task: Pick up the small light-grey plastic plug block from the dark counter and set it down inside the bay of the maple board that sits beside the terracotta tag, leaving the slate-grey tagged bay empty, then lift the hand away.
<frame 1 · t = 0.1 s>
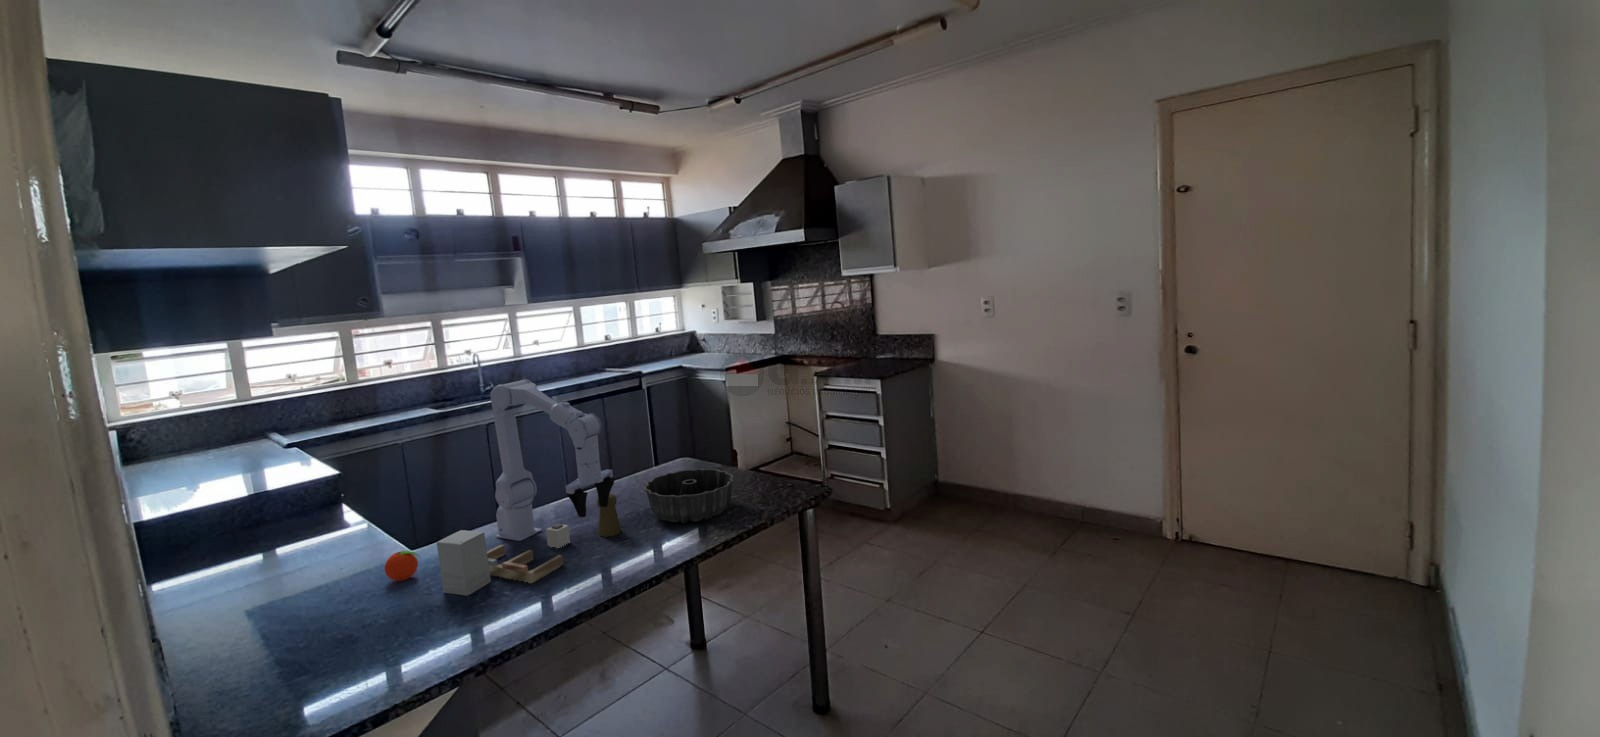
hand: (593, 511, 169), 10 cm above the table, tool pointing down, fingers open, 7 cm apart
socket board: (517, 566, 161), on the table
bundt pan: (691, 513, 193), on the table
supplement box: (467, 588, 152), on the table
cork: (609, 533, 181), on the table
plug: (559, 544, 174), on the table
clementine: (406, 579, 158), on the table
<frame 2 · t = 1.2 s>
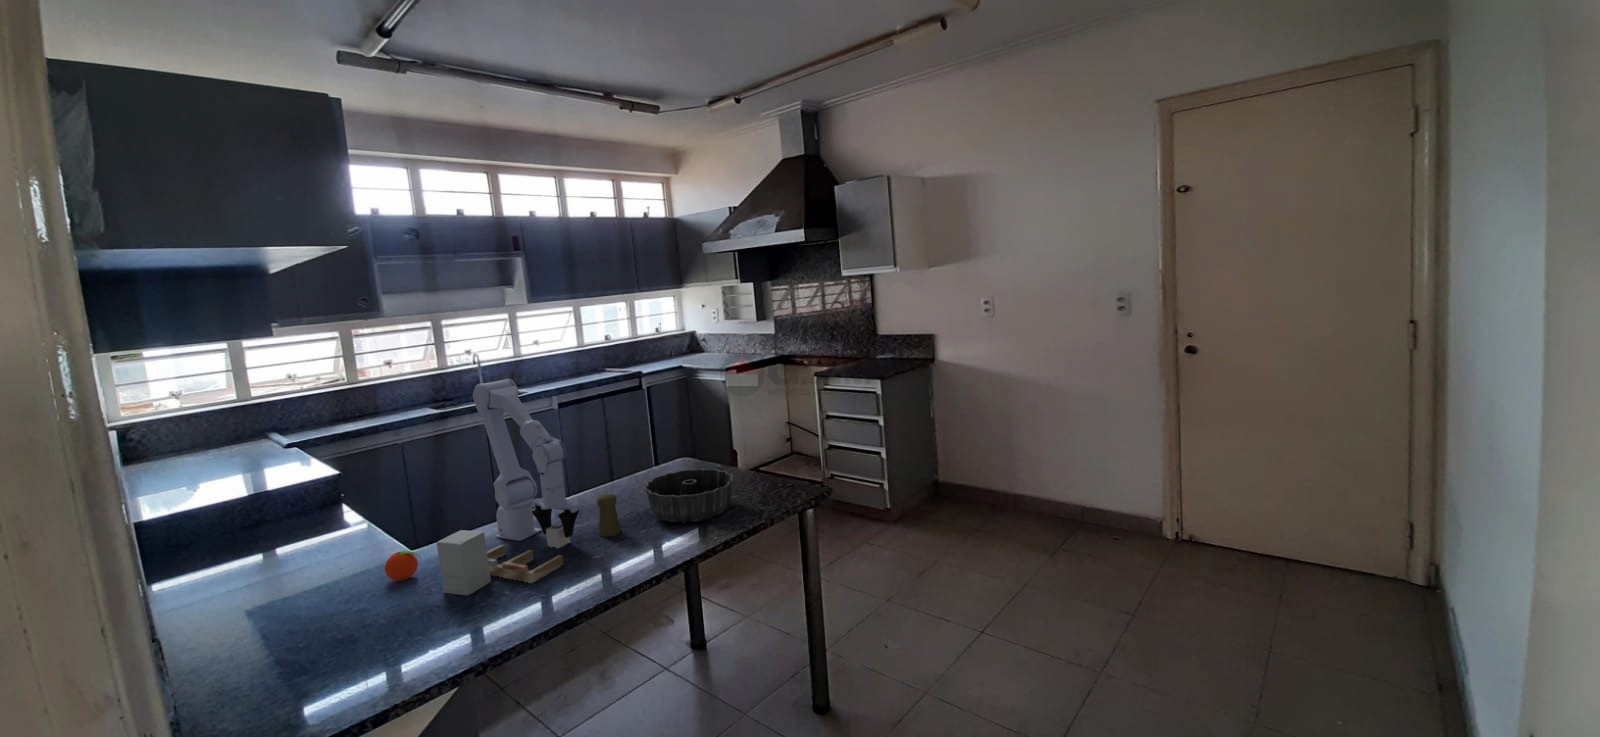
hand: (558, 534, 173), 3 cm above the table, tool pointing down, fingers open, 7 cm apart
nothing on the table moved.
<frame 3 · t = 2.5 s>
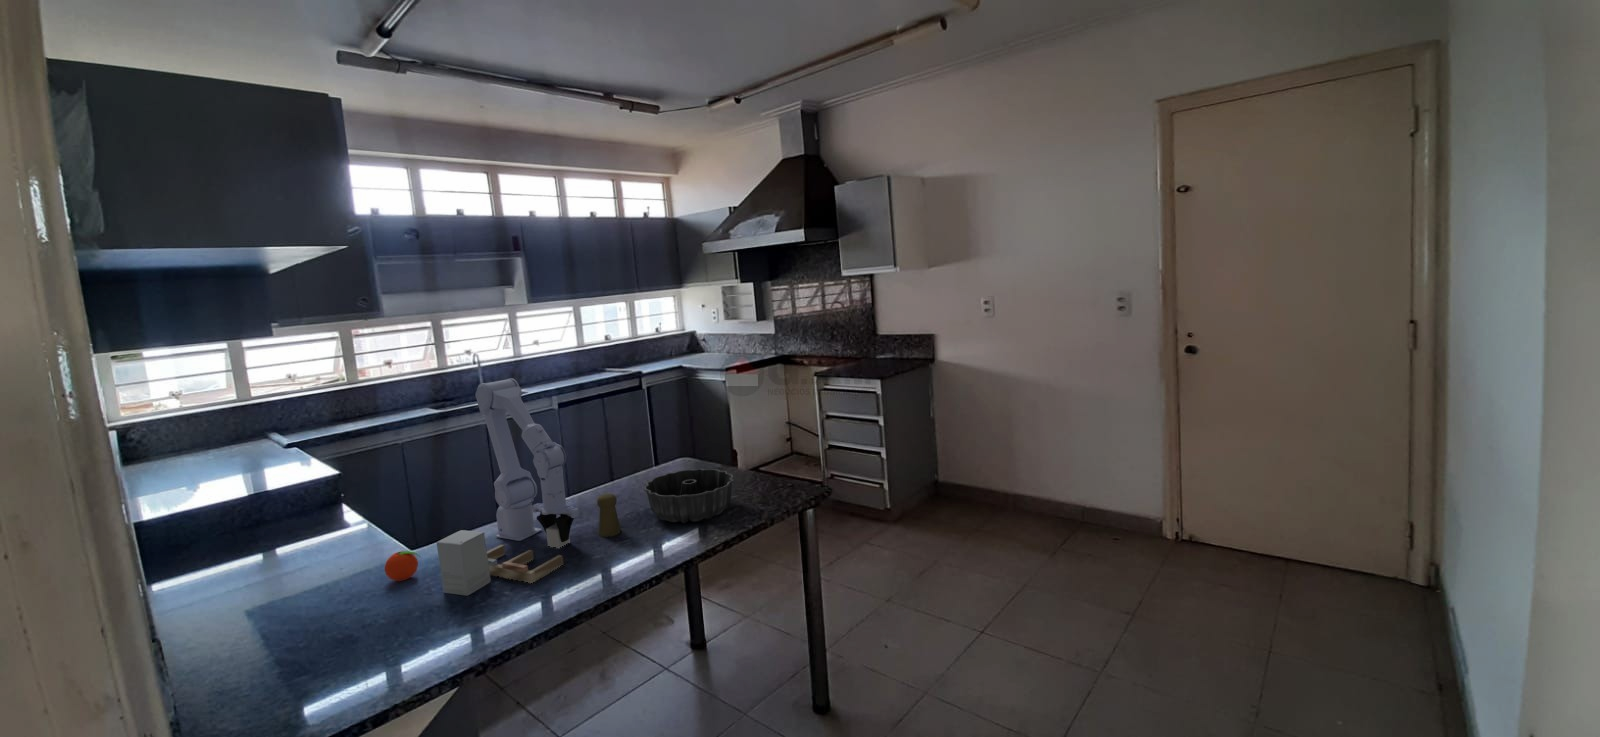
hand: (558, 539, 174), 1 cm above the table, tool pointing down, fingers closed on plug, 4 cm apart
plug: (559, 544, 174), on the table, touching gripper
everything else where it was.
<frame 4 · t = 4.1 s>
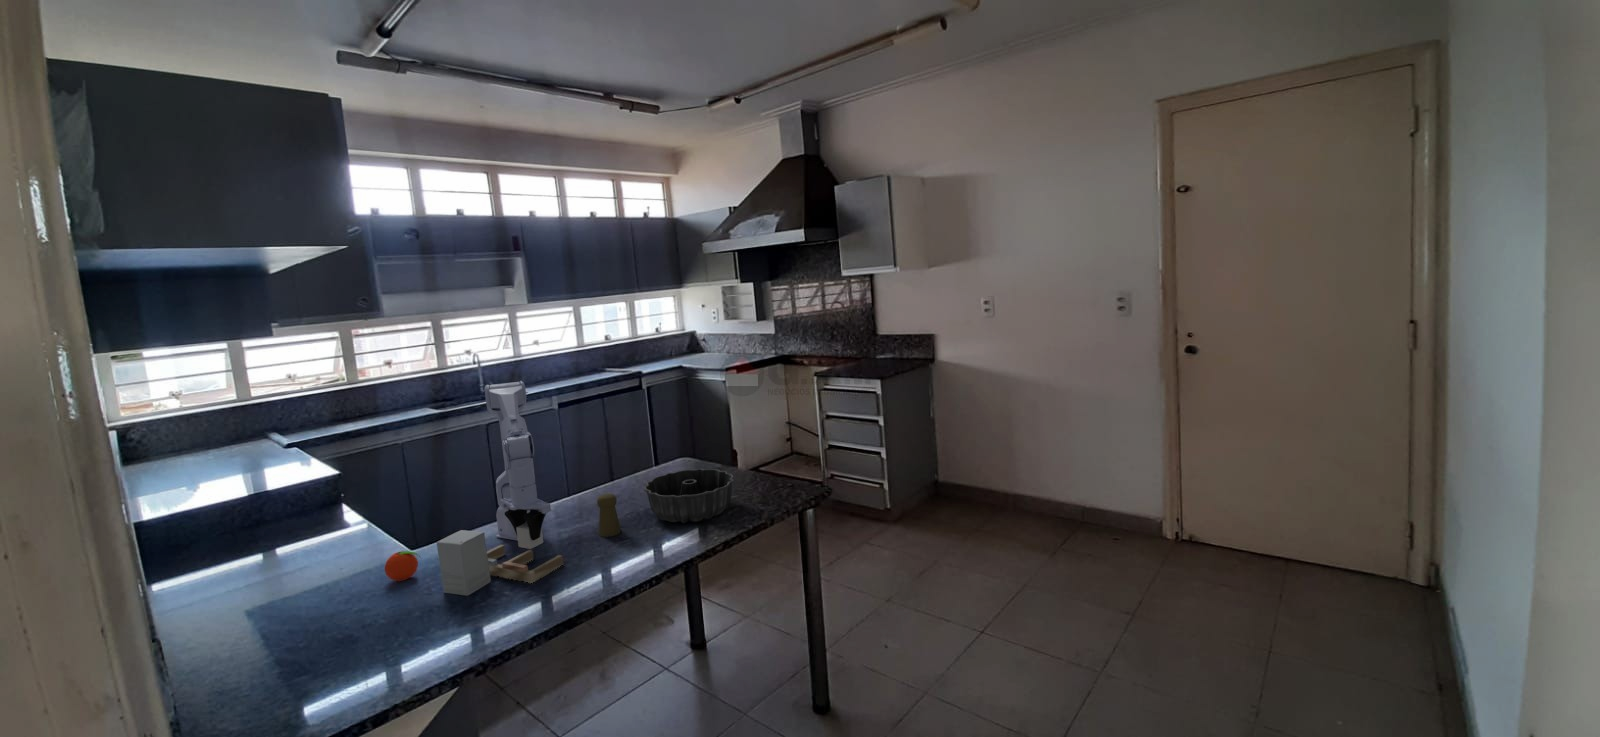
hand: (528, 537, 158), 8 cm above the table, tool pointing down, fingers closed on plug, 4 cm apart
plug: (531, 544, 159), point 6 cm above the table, touching gripper
everything else where it was.
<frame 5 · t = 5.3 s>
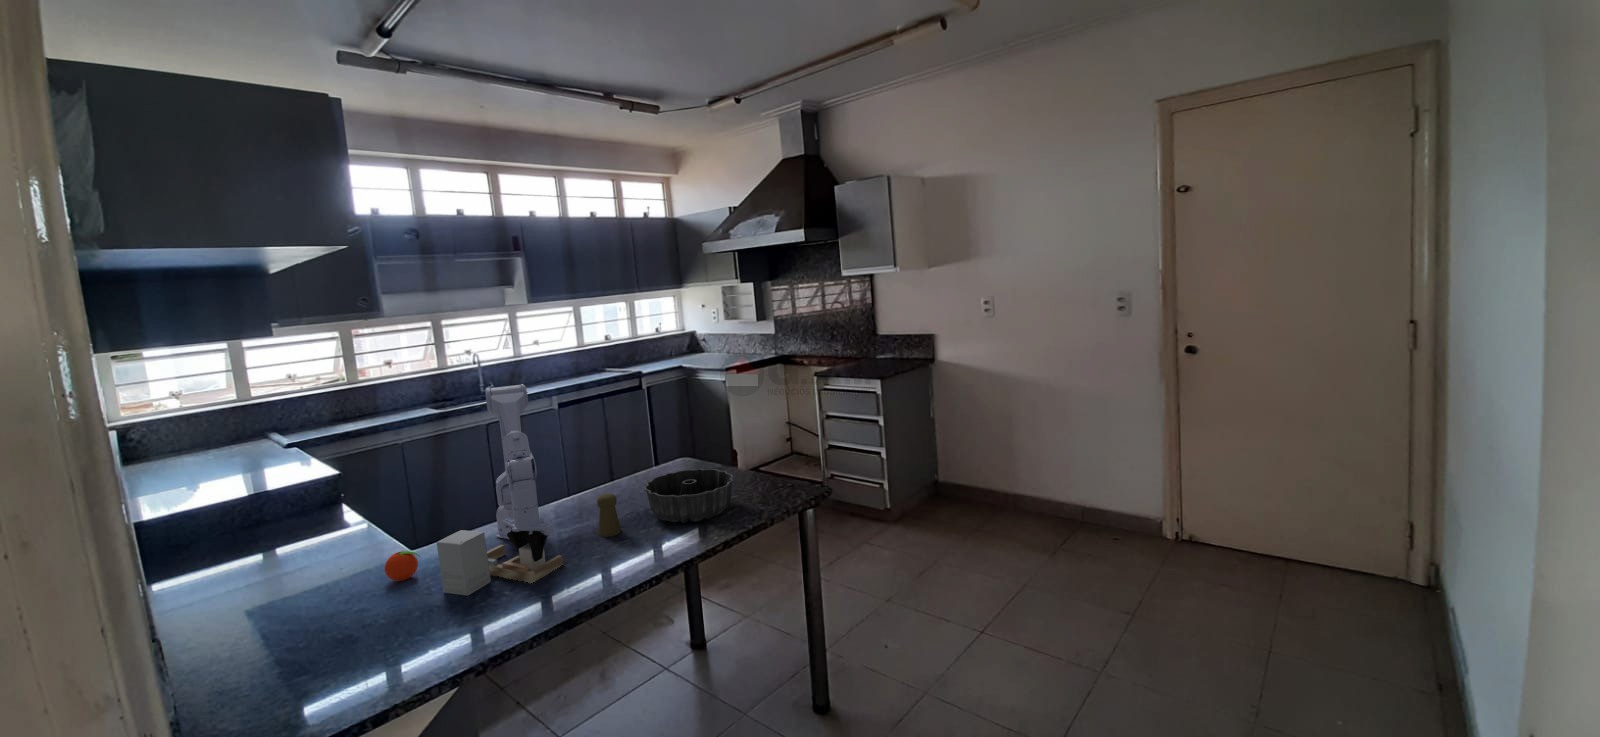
hand: (531, 558, 159), 3 cm above the table, tool pointing down, fingers closed on plug, 4 cm apart
plug: (533, 565, 159), point 1 cm above the table, touching gripper
everything else where it was.
when the fingers open (3 cm above the table, at t = 5.9 s): plug drops 1 cm, on the table.
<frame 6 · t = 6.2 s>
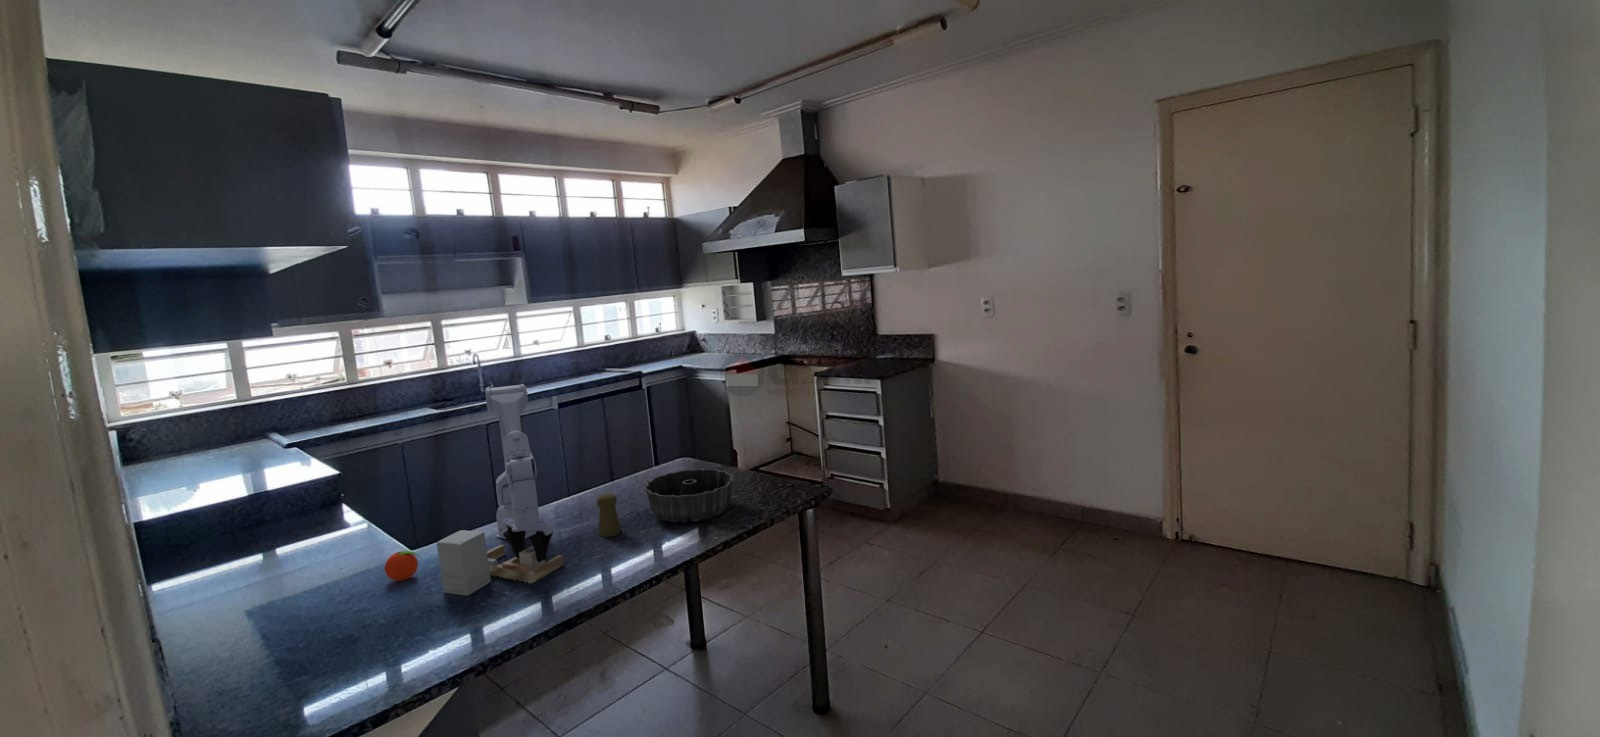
hand: (531, 558, 159), 3 cm above the table, tool pointing down, fingers open, 6 cm apart
plug: (533, 569, 160), on the table
everything else where it was.
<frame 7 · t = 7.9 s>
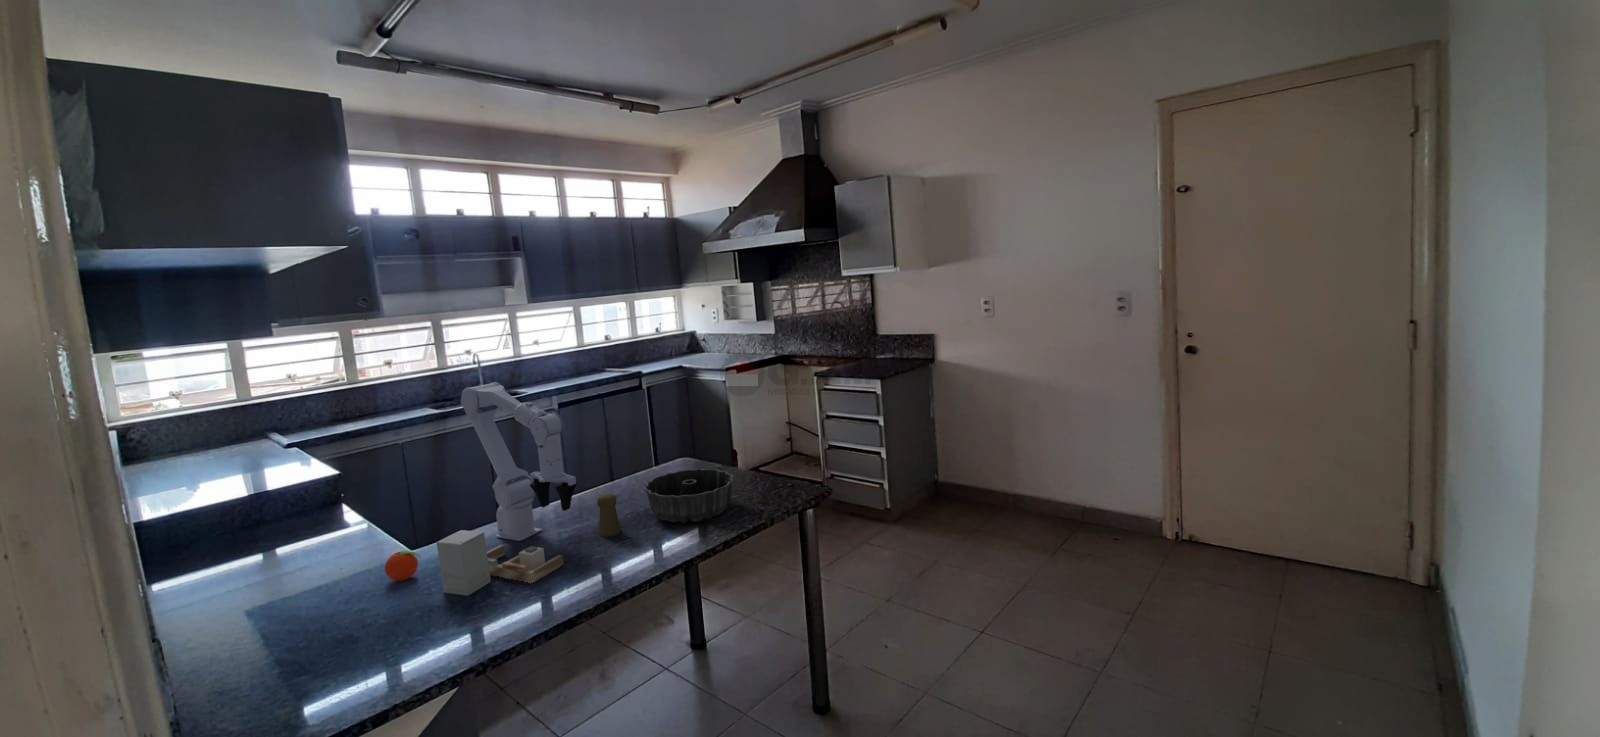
hand: (555, 507, 174), 10 cm above the table, tool pointing down, fingers open, 7 cm apart
nothing on the table moved.
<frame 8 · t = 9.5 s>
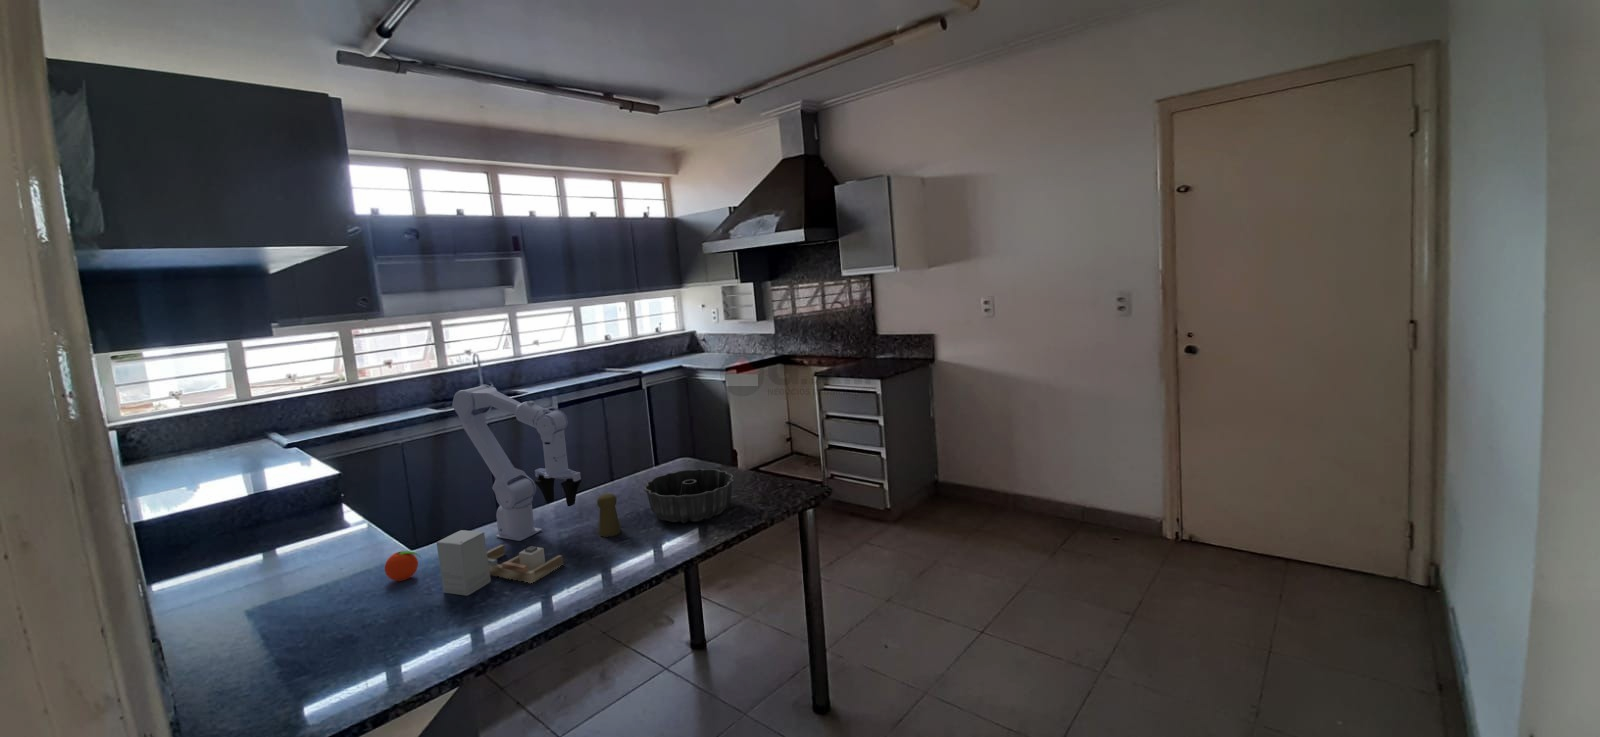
hand: (560, 503, 177), 10 cm above the table, tool pointing down, fingers open, 7 cm apart
nothing on the table moved.
at the end: plug inside the target area (0.3 cm from its centre), on the table; plug tilted 0°; the gripper is holding nothing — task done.
